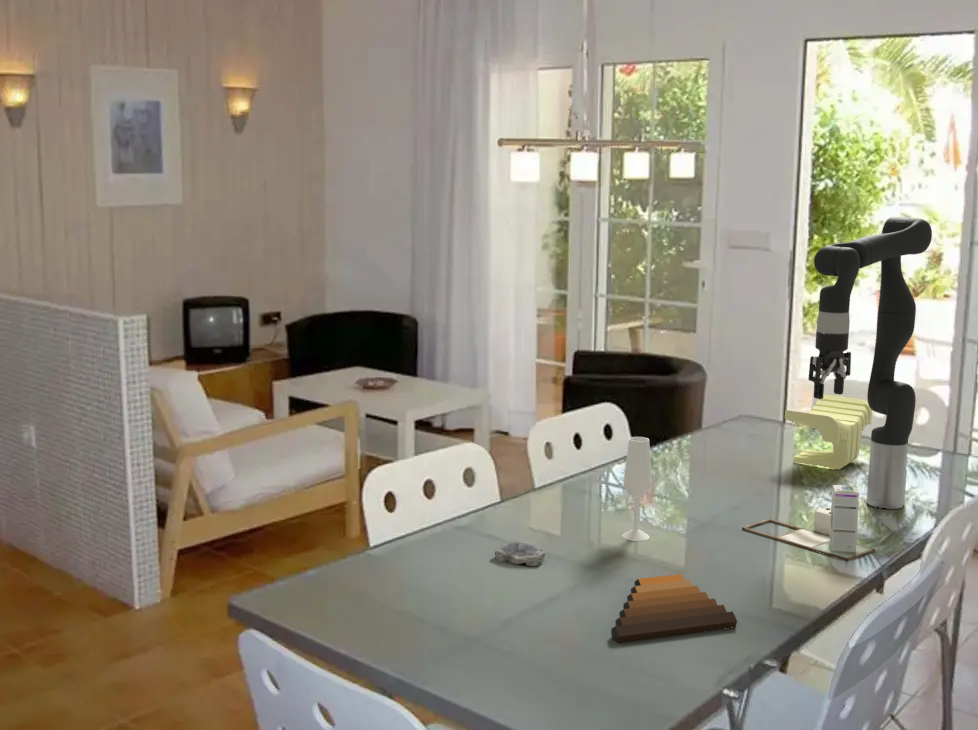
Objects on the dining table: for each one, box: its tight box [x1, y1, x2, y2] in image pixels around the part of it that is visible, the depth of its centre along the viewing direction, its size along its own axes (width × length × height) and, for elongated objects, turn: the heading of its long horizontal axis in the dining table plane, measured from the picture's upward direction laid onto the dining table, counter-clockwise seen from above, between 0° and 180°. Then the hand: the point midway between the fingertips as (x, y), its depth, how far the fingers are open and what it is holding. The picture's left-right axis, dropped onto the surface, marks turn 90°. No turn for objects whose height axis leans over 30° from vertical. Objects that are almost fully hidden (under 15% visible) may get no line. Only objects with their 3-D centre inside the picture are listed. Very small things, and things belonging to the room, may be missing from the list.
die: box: [813, 506, 831, 536], centre depth 283 cm, size 5×5×5 cm
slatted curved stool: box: [784, 393, 873, 471], centre depth 346 cm, size 30×16×18 cm, turn 144°
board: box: [741, 518, 876, 562], centre depth 277 cm, size 11×29×1 cm, turn 41°
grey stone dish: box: [494, 541, 546, 567], centre depth 262 cm, size 11×4×10 cm
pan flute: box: [610, 573, 738, 644], centre depth 232 cm, size 25×3×25 cm
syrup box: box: [829, 484, 860, 553], centre depth 268 cm, size 6×6×14 cm
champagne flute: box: [621, 436, 653, 542], centre depth 276 cm, size 7×7×24 cm
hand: (828, 396), depth 281 cm, fingers open, 8 cm apart
